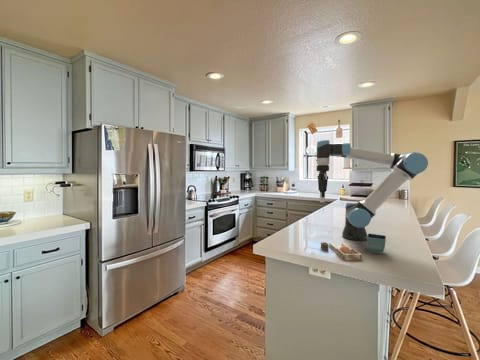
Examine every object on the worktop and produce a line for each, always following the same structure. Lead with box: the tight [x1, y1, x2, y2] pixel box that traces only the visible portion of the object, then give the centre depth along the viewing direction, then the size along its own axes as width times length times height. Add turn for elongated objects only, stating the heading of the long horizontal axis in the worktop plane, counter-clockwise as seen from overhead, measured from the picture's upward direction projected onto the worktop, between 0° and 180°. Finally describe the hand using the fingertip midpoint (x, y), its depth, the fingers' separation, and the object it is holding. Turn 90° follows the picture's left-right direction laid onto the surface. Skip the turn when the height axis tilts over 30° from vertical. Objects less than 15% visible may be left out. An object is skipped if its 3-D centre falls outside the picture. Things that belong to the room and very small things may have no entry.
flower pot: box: [366, 232, 387, 255], centre depth 133 cm, size 9×9×9 cm
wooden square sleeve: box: [320, 241, 329, 251], centre depth 138 cm, size 3×3×4 cm
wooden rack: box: [335, 248, 363, 261], centre depth 127 cm, size 9×9×3 cm
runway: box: [328, 242, 353, 254], centre depth 137 cm, size 8×12×2 cm, turn 0°
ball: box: [340, 245, 350, 254], centre depth 129 cm, size 5×5×5 cm
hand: (322, 202), depth 155 cm, fingers closed
